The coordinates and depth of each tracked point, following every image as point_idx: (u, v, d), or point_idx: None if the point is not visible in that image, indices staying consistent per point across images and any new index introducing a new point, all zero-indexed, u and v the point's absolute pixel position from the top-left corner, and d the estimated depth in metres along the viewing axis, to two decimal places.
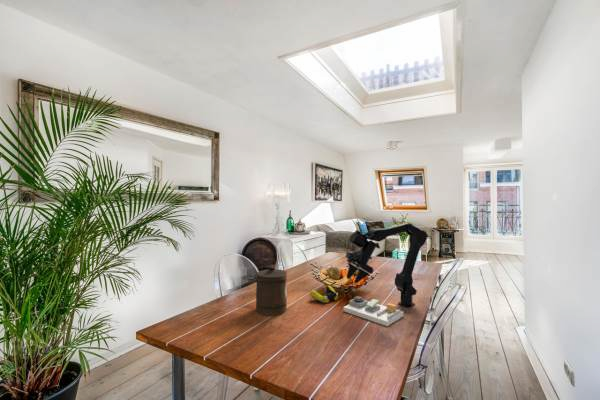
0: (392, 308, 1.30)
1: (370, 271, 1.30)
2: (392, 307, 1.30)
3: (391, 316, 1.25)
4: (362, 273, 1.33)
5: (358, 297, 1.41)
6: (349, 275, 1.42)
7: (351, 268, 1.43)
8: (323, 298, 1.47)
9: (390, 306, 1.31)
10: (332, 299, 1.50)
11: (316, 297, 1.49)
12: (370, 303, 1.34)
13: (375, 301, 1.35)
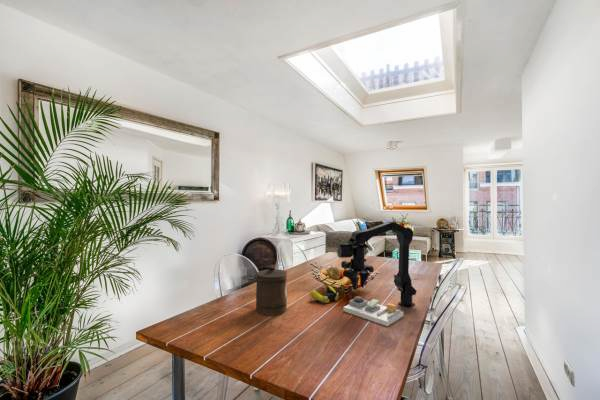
0: (392, 308, 1.30)
1: (350, 276, 1.33)
2: (392, 307, 1.30)
3: (391, 316, 1.25)
4: (354, 279, 1.37)
5: (358, 297, 1.41)
6: (361, 283, 1.43)
7: (361, 276, 1.43)
8: (323, 298, 1.47)
9: (390, 306, 1.31)
10: (332, 299, 1.50)
11: (316, 297, 1.49)
12: (370, 303, 1.34)
13: (375, 301, 1.35)
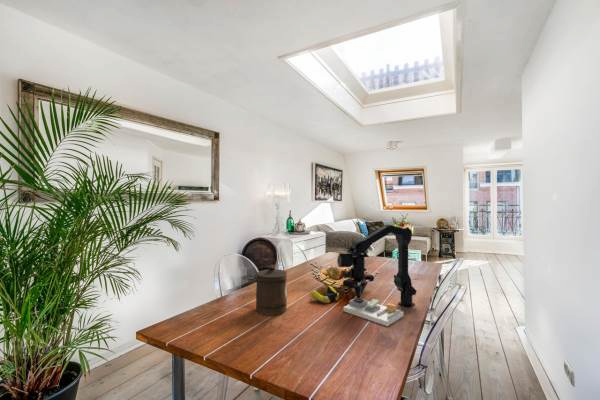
0: (392, 308, 1.30)
1: (350, 286, 1.33)
2: (392, 307, 1.30)
3: (391, 316, 1.25)
4: (357, 287, 1.39)
5: None
6: None
7: None
8: (324, 298, 1.47)
9: (390, 306, 1.31)
10: (333, 299, 1.50)
11: (317, 297, 1.49)
12: (370, 303, 1.34)
13: (375, 301, 1.35)
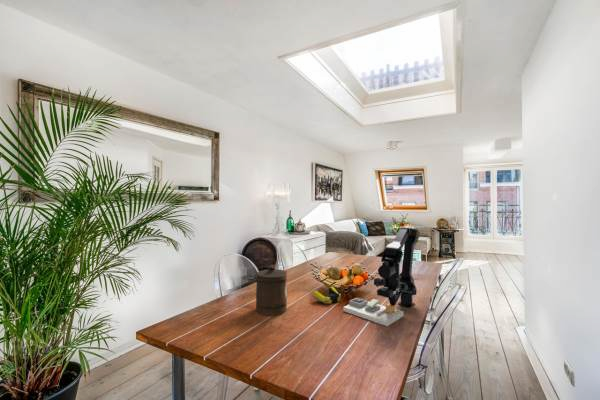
0: (391, 309, 1.29)
1: (385, 295, 1.24)
2: (391, 308, 1.29)
3: (391, 316, 1.25)
4: None
5: (358, 299, 1.41)
6: None
7: None
8: (326, 299, 1.46)
9: (389, 306, 1.30)
10: (335, 300, 1.49)
11: (319, 298, 1.48)
12: (370, 303, 1.34)
13: (375, 301, 1.35)
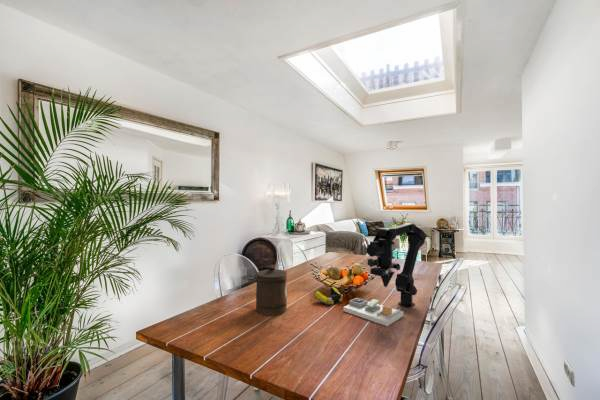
0: (388, 310, 1.27)
1: (378, 274, 1.29)
2: (388, 309, 1.27)
3: (391, 316, 1.25)
4: (384, 275, 1.36)
5: (358, 299, 1.41)
6: None
7: None
8: (328, 300, 1.45)
9: (385, 308, 1.28)
10: (337, 301, 1.48)
11: (320, 299, 1.47)
12: (370, 303, 1.34)
13: (375, 301, 1.35)
